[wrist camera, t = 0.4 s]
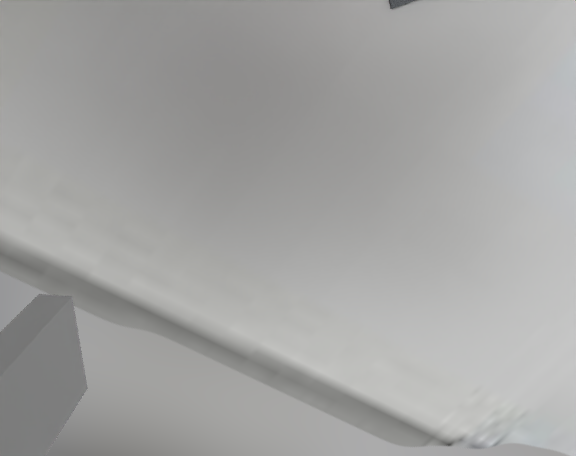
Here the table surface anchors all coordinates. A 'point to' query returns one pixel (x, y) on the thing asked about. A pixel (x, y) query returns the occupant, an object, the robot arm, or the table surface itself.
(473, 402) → the table surface
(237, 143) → the table surface
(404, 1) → the rubber mat
